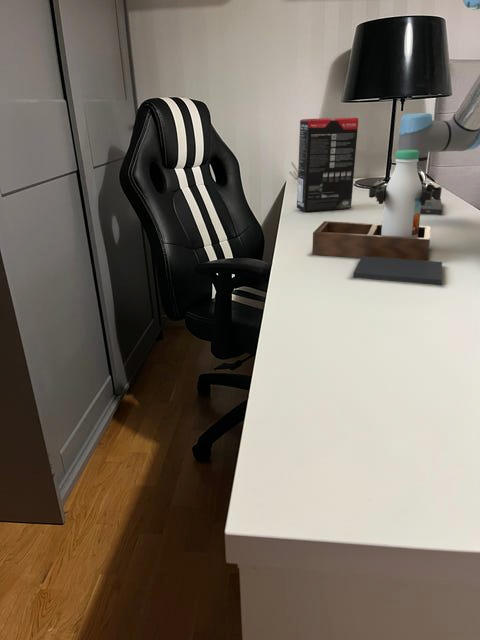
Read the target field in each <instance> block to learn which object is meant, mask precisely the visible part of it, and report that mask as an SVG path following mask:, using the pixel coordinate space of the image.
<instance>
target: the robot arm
mask: <svg viewBox="0 0 480 640" xmlns="http://www.w3.org/2000/svg"><path fill="white" fill-rule="evenodd" d="M462 2H463V4H464V6H465V7H466V8H468V9H470V10H472V11H480V0H462ZM479 146H480V74H479V75H478V76H477V77H476V79H475V81H474V82H473V84H472V86H471V87H470V89H469V90H468V92H467V93H466V95H465V96H464V98H463V99H462V101H461V103H460V104H459V106H458V108H457V109H456V111H454V114H453V115H452V117H451V118H450V119H449V120H433V114H432V113H425V112H424V113H423V112H422V113H405V114H404V115H403V116H402V117H401V120H400V125H399V131H398V147H397V148H398V149H397V151H398V150H418V151H419V158H418V162H417V171H418V175H419V178H420V181H421V185H422V199H421V206H425V200H431V199H432V198H434V199H436V200H439V199H440V198H441V197H442V189H443V188H442V186H440V185H439V182H438V181H432V182H428V184H427V183H426V181H427V180H426V179H427V168H428V160H429V154H430V153H438V152H439V153H441V152H465V151H471V150H475V149H477V148H478V147H479ZM387 185H388V183H386V180H385V181H383V180H381V179H379V180H377V181H376V182H374V183H373V184H371V185H369V190H368V198H370V199H372V198H375V199H376V202H378V205H384V199H385V192H386V188H387Z"/></svg>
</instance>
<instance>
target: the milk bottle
mask: <svg viewBox="0 0 480 640" xmlns="http://www.w3.org/2000/svg"><path fill="white" fill-rule="evenodd" d="M418 158H419V151H418V150H398V149H397V151H395V168H394V171H393V173H392V175H391V176H390V179H389V181H388V182H387V184H388V185H387V188H386V192H385V199H384V202H383V211H382V223H381V224H382V232H381V235H382V236H400V237H417V238H418V230H419V226H420V220H421V214H420V212H421V199H422V185H421V181H420V178H419V175H418V171H417V162H418Z"/></svg>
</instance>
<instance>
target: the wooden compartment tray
mask: <svg viewBox="0 0 480 640" xmlns="http://www.w3.org/2000/svg"><path fill="white" fill-rule="evenodd" d="M431 231H432V227H431V226H428V225H419V230H418V238H417V237H400V236H382V235H381V232H382V223H366V222H350V221H349V222H348V221H344V222H343V221H329V220H324V221H323V222H322V223H320V225H319V226H318V227H317V228H316V229H314V231H313V232H312V247H311V248H312V251H311V254H312V256H313V255H314V256H326V257H327V256H329V257H340V258H342V257H343V258H356V259H361V257H362V256H367V257H381V258H395V259H409V260H423V261H428V259H429V251H430V243H431Z"/></svg>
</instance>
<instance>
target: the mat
mask: <svg viewBox="0 0 480 640" xmlns="http://www.w3.org/2000/svg"><path fill="white" fill-rule="evenodd" d="M352 276H353V278H357V279H368V280H380V281H391V282H392V281H393V282H402V283H414V284H425V285H426V284H427V285H438V286H442V284H443V262H442V261H437V260H436V261H435V260H427V261H423V260H409V259H395V258H381V257H367V256H362V257H361V258H359V261H358V263H357V265H356V267H355V269H354V270H353V275H352Z"/></svg>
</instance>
